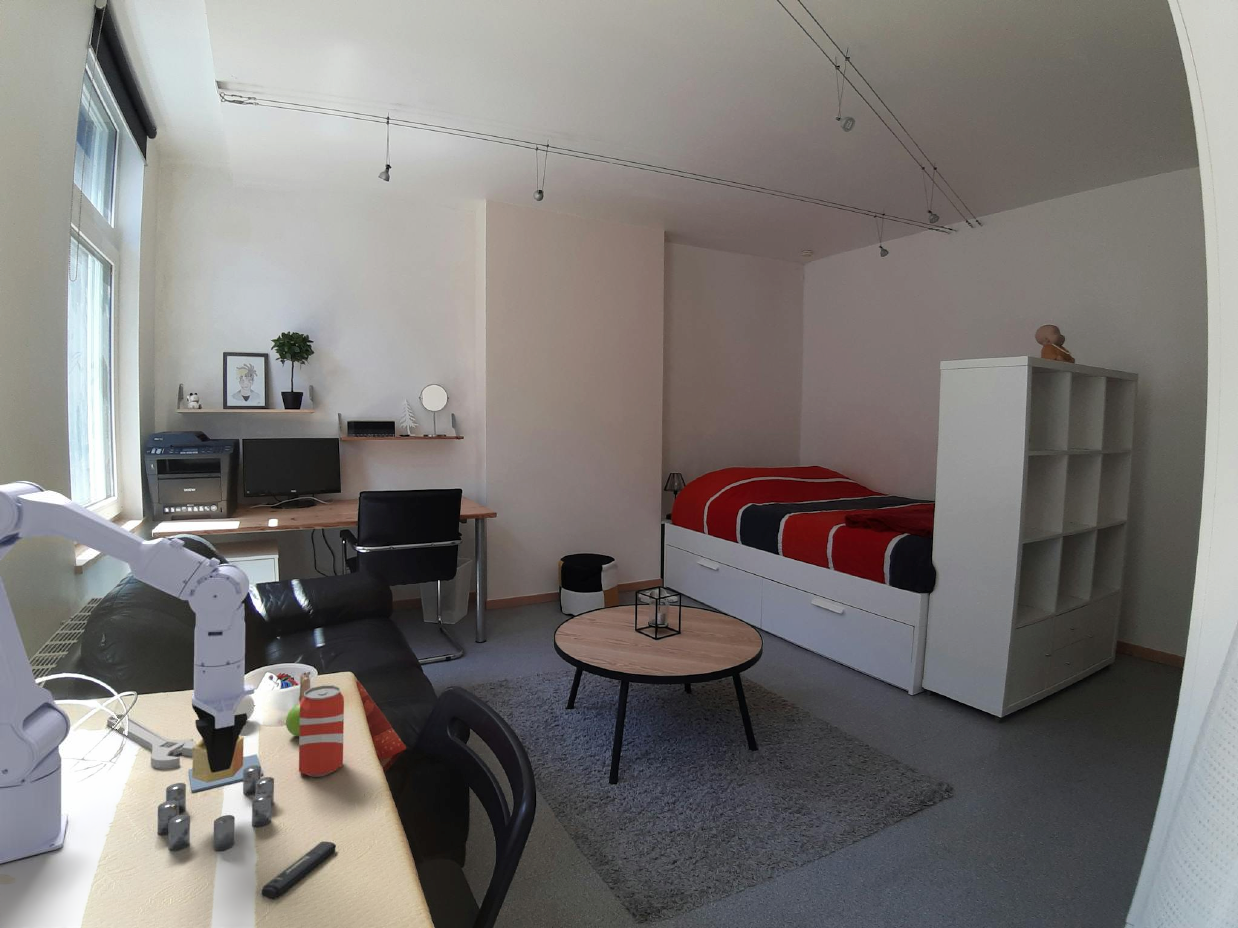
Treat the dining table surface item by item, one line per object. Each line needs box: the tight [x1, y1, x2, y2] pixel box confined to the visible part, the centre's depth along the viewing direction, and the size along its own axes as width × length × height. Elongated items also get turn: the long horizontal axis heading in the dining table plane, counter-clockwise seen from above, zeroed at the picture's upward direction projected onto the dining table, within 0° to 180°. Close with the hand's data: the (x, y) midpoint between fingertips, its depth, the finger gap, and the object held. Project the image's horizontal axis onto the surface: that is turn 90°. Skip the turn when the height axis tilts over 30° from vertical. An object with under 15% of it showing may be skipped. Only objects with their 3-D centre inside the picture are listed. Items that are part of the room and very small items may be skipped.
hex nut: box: [191, 734, 245, 783], centre depth 87 cm, size 6×5×4 cm
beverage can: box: [298, 684, 345, 777], centre depth 100 cm, size 6×6×12 cm
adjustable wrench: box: [106, 713, 198, 769], centre depth 108 cm, size 25×6×2 cm, turn 53°
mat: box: [188, 754, 264, 793], centre depth 98 cm, size 9×7×1 cm
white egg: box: [234, 695, 256, 721], centre depth 115 cm, size 8×6×6 cm
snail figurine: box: [285, 670, 312, 737], centre depth 111 cm, size 5×6×12 cm
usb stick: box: [261, 840, 337, 901], centre depth 77 cm, size 10×3×2 cm, turn 162°
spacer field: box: [157, 765, 275, 852], centre depth 86 cm, size 13×14×3 cm
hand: (218, 760), depth 87 cm, fingers closed on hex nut, 5 cm apart
